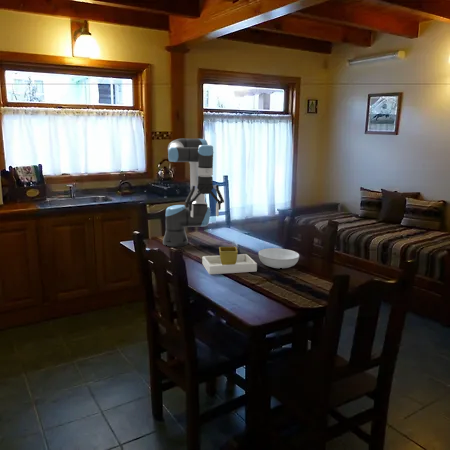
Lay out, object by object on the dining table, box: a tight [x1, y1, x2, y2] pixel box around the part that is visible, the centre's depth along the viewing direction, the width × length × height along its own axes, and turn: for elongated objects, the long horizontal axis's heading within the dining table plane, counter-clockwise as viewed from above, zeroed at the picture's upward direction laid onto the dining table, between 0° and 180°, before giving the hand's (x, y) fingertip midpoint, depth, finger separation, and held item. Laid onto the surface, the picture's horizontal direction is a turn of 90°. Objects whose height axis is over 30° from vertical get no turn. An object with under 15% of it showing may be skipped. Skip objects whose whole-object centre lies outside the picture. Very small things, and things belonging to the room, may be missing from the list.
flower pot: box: [218, 246, 239, 265], centre depth 216 cm, size 9×9×9 cm
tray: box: [201, 253, 258, 275], centre depth 217 cm, size 17×24×4 cm
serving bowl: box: [258, 247, 300, 269], centre depth 221 cm, size 21×21×7 cm
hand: (204, 216), depth 224 cm, fingers open, 13 cm apart
